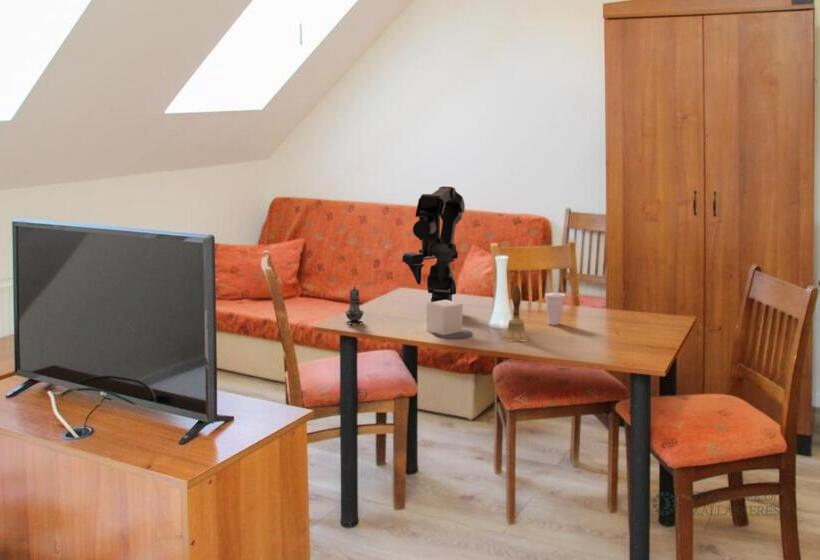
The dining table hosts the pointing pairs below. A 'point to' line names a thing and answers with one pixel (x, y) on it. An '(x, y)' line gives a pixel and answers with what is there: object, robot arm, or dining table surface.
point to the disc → (455, 335)
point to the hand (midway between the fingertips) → (430, 282)
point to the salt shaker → (354, 308)
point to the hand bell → (516, 320)
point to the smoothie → (554, 306)
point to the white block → (444, 317)
